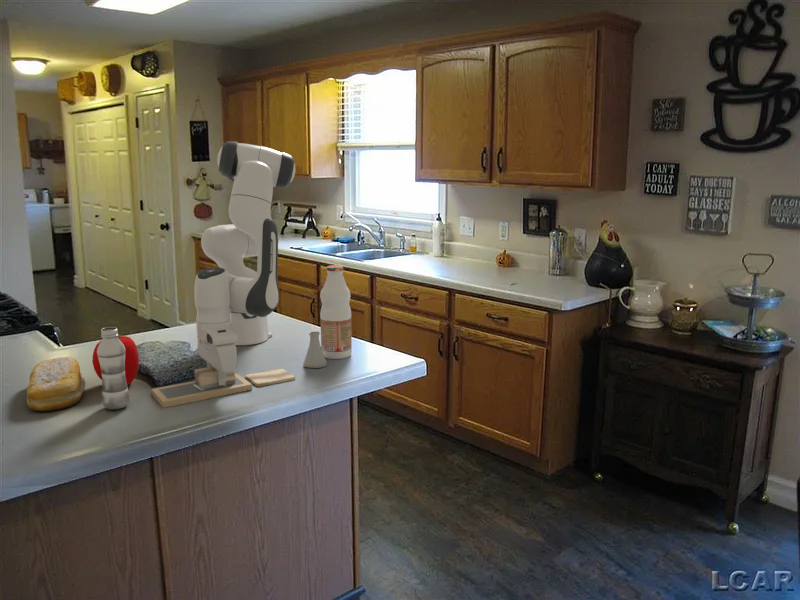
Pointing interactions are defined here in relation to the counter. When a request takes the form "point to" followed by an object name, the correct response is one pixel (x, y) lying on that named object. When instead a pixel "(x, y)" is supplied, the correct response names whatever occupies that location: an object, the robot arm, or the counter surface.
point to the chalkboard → (196, 392)
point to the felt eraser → (210, 378)
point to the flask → (314, 352)
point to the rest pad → (269, 377)
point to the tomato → (130, 359)
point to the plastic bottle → (113, 370)
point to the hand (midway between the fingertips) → (217, 380)
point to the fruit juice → (335, 315)
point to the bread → (55, 384)
